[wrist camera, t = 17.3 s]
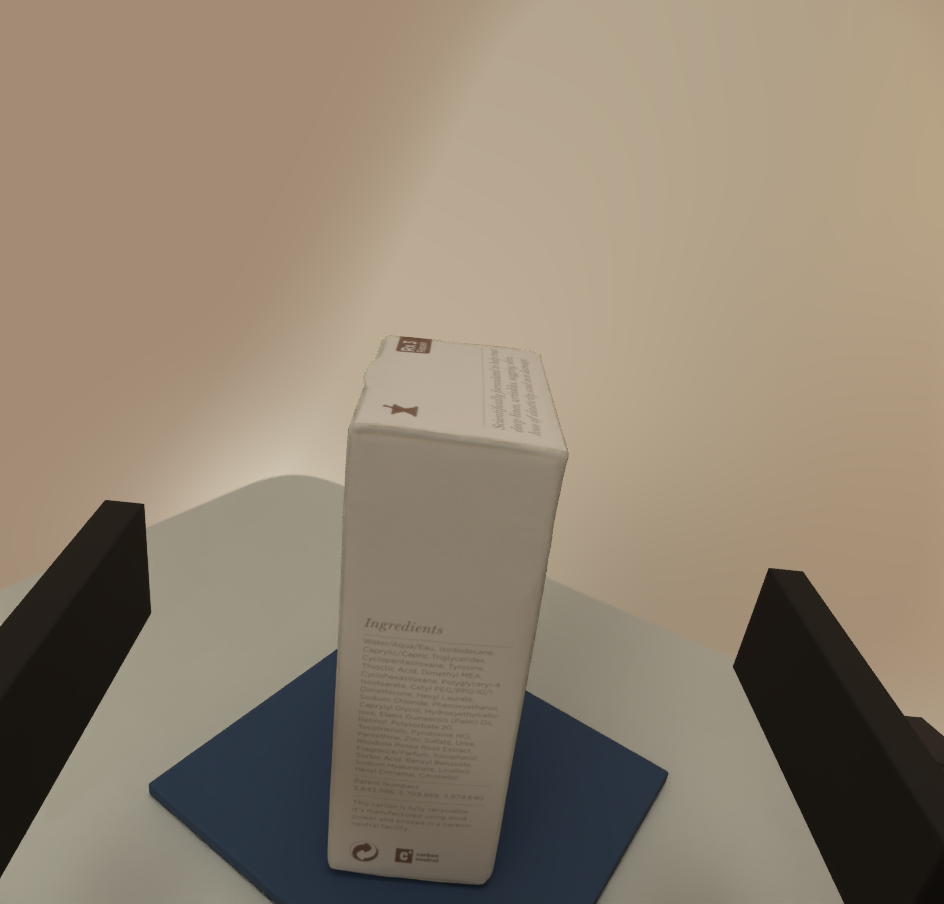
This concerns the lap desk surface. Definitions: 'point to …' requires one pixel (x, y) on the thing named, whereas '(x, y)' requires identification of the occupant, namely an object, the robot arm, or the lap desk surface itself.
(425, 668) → the cosmetic box
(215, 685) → the lap desk surface
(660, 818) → the lap desk surface
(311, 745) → the blue mat
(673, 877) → the lap desk surface
